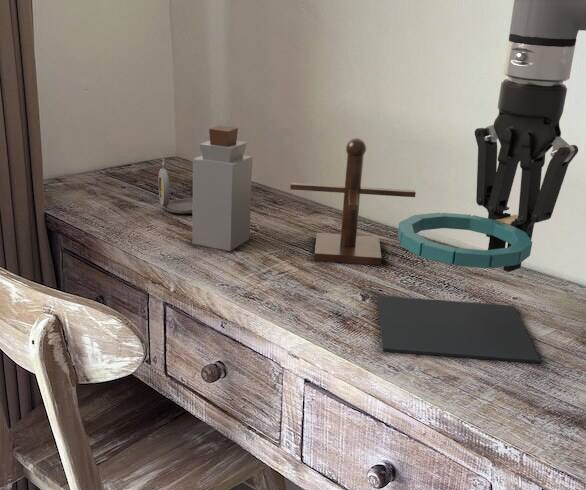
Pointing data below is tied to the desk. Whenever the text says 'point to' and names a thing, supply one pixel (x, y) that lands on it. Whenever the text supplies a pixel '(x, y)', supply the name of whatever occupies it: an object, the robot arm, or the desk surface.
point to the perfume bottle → (221, 191)
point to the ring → (461, 256)
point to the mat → (454, 329)
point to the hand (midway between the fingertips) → (502, 265)
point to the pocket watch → (164, 194)
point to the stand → (350, 214)
